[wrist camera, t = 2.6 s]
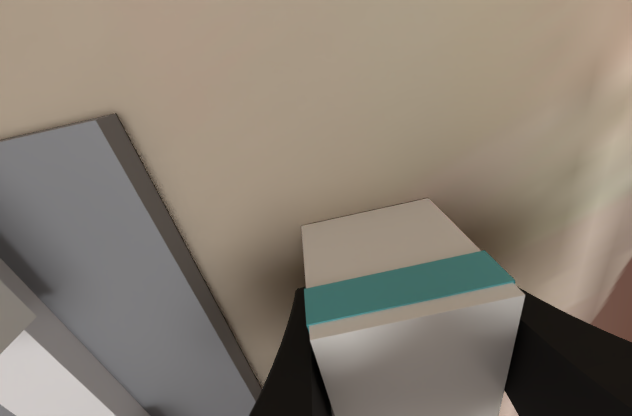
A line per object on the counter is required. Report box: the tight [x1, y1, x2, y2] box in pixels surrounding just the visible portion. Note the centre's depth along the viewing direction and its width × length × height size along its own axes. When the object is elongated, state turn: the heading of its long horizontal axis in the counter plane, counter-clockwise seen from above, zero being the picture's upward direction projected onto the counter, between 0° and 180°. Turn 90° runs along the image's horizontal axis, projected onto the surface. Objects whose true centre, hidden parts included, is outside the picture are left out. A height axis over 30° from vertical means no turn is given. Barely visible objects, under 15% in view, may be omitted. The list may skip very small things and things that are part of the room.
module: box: [301, 198, 525, 416], centre depth 10 cm, size 6×5×5 cm
